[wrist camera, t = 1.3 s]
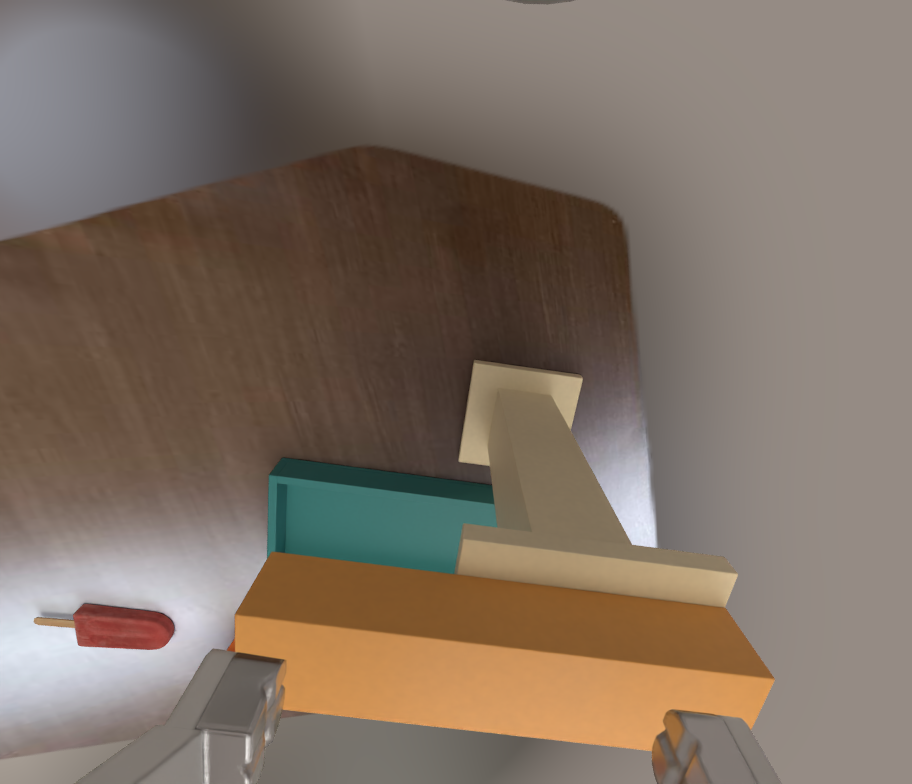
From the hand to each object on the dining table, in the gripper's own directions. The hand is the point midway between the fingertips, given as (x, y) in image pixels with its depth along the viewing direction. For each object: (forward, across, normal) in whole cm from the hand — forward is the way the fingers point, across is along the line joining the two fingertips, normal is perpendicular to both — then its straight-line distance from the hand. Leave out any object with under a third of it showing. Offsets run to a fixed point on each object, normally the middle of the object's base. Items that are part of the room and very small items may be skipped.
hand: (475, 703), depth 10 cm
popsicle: (+36, +34, +39) cm, 63 cm away
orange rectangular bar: (+10, -2, +7) cm, 12 cm away
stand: (+36, -6, +7) cm, 37 cm away
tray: (+36, +2, +21) cm, 41 cm away
